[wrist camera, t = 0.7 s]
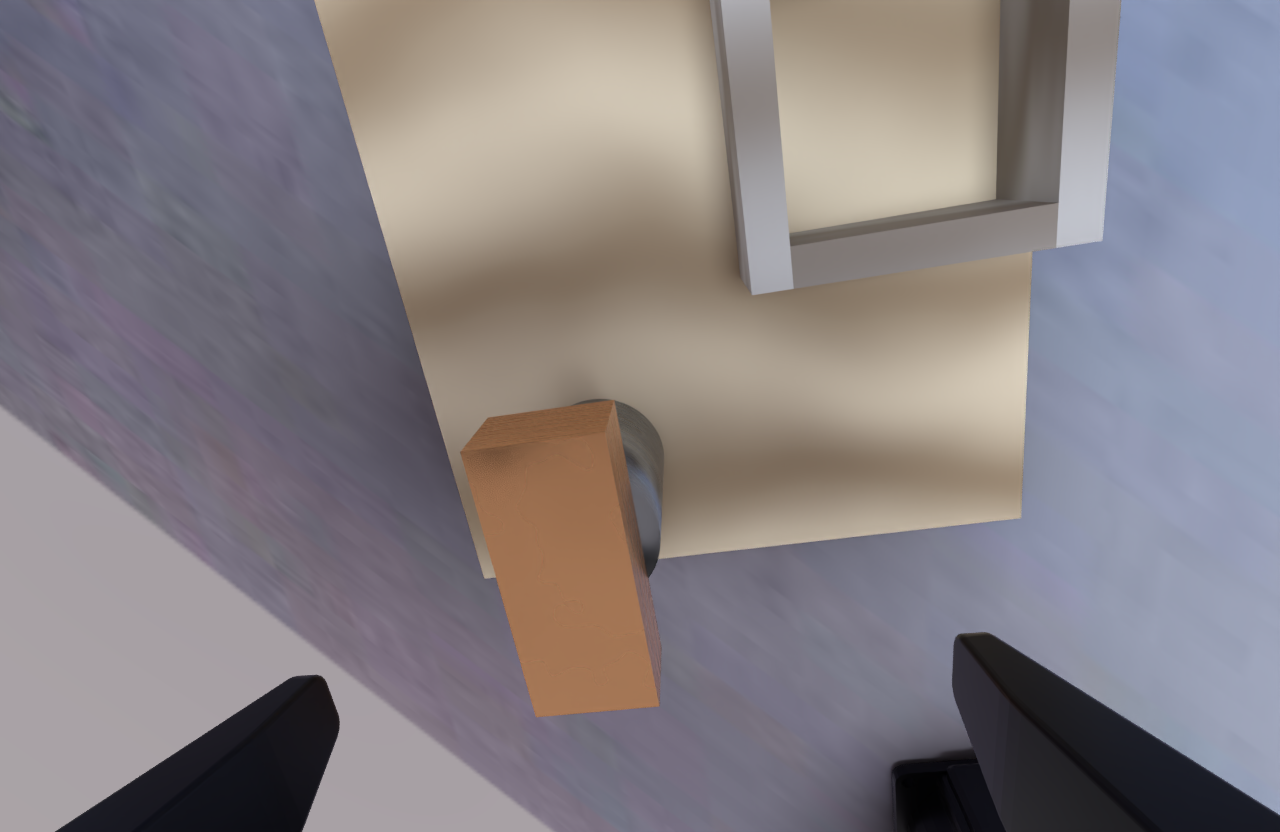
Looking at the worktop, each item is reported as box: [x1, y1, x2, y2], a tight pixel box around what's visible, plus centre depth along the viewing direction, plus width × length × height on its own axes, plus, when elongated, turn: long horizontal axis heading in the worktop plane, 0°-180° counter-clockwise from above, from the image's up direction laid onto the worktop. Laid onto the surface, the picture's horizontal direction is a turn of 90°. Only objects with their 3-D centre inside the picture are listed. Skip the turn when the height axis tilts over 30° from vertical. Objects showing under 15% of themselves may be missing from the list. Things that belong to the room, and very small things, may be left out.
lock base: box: [314, 0, 1121, 579], centre depth 17 cm, size 18×18×4 cm
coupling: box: [460, 399, 664, 717], centre depth 17 cm, size 7×4×7 cm, turn 10°
